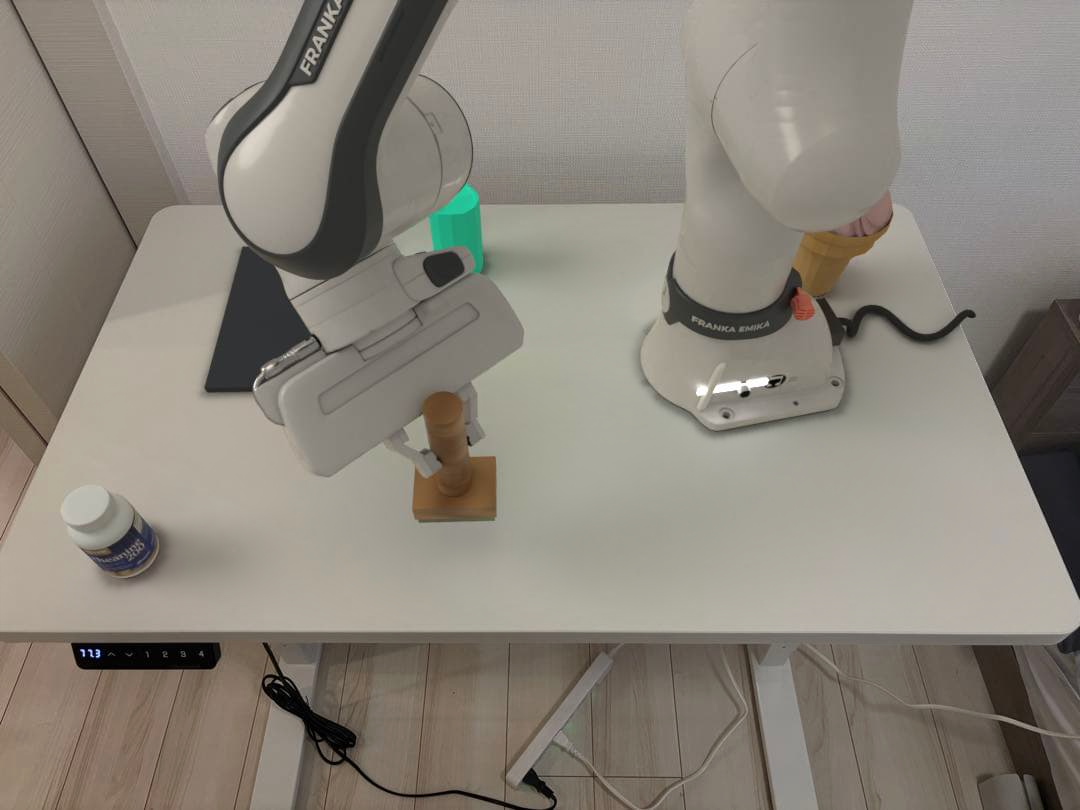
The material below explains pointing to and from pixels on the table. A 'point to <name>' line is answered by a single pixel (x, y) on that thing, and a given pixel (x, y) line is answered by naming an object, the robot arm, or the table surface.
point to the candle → (459, 225)
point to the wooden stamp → (453, 469)
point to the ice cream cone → (840, 247)
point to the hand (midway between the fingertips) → (455, 456)
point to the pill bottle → (109, 531)
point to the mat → (253, 326)
